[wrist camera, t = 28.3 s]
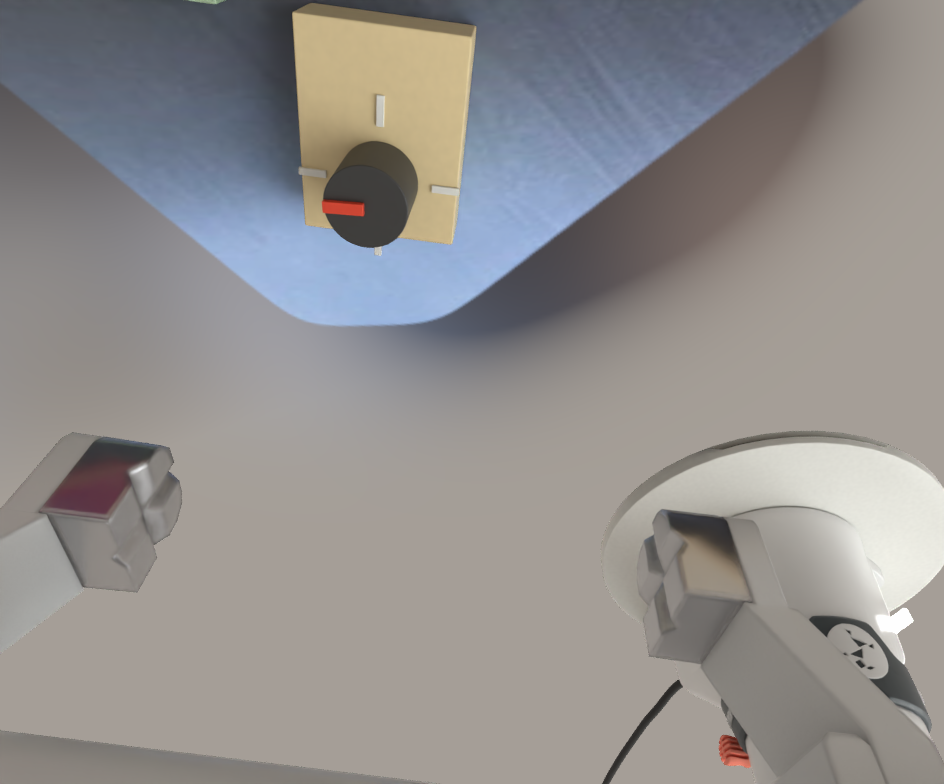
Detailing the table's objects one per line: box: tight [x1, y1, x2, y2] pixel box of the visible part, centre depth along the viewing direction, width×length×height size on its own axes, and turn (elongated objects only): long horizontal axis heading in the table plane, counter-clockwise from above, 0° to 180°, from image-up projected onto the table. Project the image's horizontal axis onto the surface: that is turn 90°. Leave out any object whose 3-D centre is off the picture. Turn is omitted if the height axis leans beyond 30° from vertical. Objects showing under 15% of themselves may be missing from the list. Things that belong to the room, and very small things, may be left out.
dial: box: [322, 141, 418, 248], centre depth 30 cm, size 4×4×4 cm
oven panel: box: [292, 3, 476, 256], centre depth 32 cm, size 11×8×3 cm
